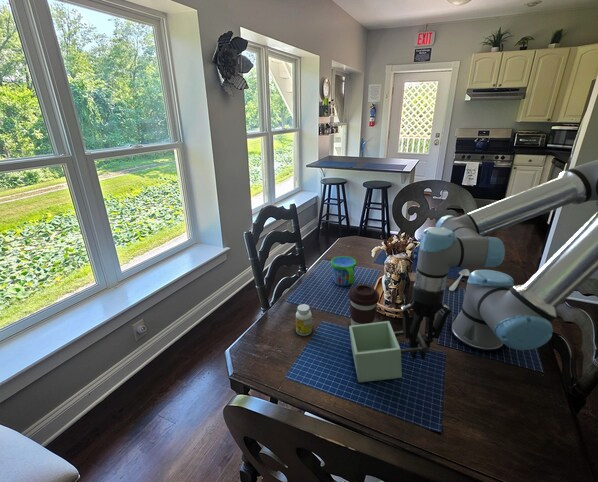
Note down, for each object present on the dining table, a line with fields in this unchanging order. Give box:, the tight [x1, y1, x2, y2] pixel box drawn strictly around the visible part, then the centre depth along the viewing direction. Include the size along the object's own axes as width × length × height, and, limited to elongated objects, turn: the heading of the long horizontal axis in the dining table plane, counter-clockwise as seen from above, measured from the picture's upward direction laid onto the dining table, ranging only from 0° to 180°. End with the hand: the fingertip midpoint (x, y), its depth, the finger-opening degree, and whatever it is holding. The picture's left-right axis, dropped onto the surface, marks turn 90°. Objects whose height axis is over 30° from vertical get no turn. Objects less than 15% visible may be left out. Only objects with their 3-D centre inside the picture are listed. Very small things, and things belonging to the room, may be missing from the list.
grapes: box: [413, 238, 421, 260], centre depth 154 cm, size 12×7×12 cm, turn 46°
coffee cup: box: [348, 284, 380, 326], centre depth 108 cm, size 10×10×15 cm
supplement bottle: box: [295, 303, 313, 337], centre depth 107 cm, size 5×5×10 cm
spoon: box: [448, 268, 471, 292], centre depth 138 cm, size 4×21×2 cm, turn 138°
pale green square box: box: [348, 320, 430, 383], centre depth 92 cm, size 20×12×10 cm, turn 89°
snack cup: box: [330, 255, 357, 287], centre depth 137 cm, size 16×10×10 cm
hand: (417, 355), depth 93 cm, fingers closed on pale green square box, 2 cm apart
